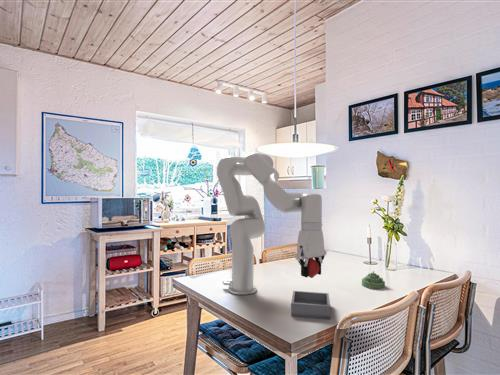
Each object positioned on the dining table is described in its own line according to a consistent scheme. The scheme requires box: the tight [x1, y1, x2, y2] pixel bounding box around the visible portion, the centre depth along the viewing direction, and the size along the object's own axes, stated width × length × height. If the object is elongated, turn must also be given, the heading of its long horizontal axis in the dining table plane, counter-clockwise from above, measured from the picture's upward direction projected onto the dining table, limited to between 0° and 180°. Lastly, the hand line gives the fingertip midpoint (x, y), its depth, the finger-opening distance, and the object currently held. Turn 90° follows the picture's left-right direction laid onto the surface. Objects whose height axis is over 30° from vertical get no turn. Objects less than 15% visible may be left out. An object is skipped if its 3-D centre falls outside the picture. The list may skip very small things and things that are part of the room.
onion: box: [307, 258, 319, 279], centre depth 116 cm, size 6×6×8 cm
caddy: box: [290, 290, 332, 320], centre depth 116 cm, size 14×14×4 cm
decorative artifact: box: [361, 270, 386, 290], centre depth 146 cm, size 10×7×10 cm
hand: (311, 274), depth 116 cm, fingers closed on onion, 5 cm apart
